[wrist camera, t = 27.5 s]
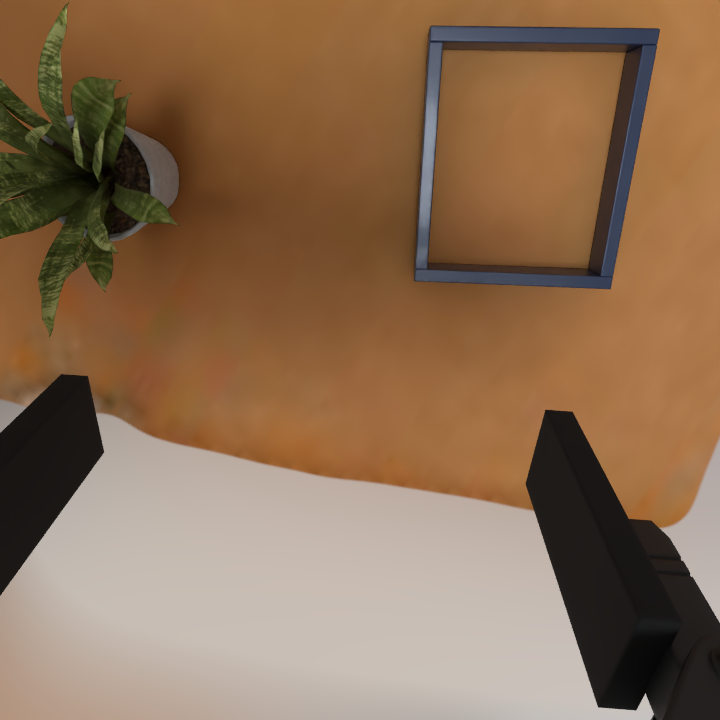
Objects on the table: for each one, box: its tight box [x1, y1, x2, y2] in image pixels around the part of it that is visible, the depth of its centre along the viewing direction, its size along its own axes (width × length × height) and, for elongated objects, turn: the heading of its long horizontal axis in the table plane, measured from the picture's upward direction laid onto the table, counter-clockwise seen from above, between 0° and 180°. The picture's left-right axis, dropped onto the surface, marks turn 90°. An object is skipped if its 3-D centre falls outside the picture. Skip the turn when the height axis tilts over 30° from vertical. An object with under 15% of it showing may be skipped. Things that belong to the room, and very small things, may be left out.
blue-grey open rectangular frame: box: [414, 26, 660, 289], centre depth 34 cm, size 15×13×2 cm
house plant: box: [0, 2, 179, 338], centre depth 29 cm, size 14×14×16 cm
